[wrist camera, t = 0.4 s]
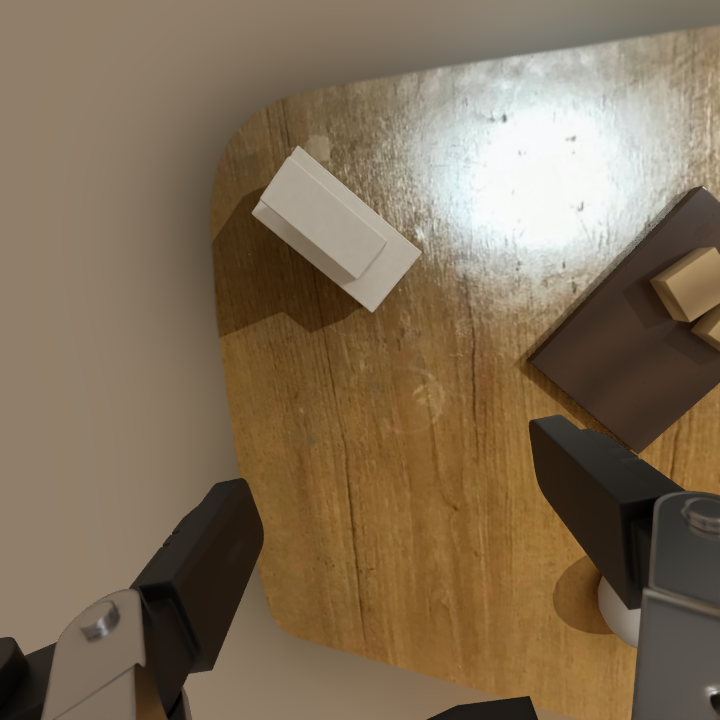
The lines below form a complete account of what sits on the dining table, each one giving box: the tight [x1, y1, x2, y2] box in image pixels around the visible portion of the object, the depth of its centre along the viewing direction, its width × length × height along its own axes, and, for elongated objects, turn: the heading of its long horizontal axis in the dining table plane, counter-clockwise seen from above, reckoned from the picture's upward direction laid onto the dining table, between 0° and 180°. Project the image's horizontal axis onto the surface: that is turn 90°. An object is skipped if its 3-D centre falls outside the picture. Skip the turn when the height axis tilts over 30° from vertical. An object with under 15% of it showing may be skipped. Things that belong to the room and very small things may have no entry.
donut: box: [598, 575, 641, 648], centre depth 31 cm, size 10×3×10 cm
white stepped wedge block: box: [252, 146, 421, 313], centre depth 22 cm, size 5×10×10 cm, turn 51°
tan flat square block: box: [650, 247, 720, 322], centre depth 25 cm, size 4×4×2 cm
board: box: [527, 186, 720, 454], centre depth 27 cm, size 12×16×1 cm
